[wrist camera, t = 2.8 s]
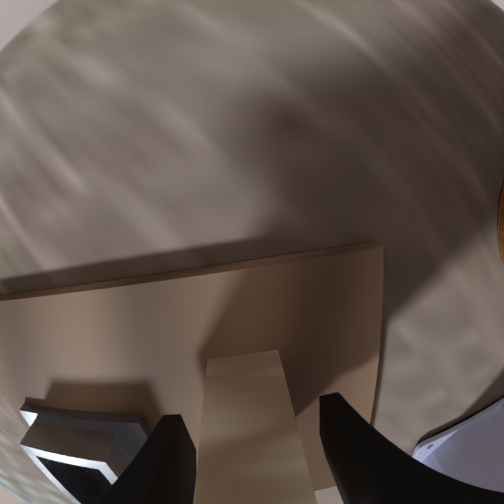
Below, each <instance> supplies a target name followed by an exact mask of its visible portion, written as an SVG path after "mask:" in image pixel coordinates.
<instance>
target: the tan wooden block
mask: <svg viewBox="0 0 504 504" xmlns="http://www.w3.org/2000/svg"><path fill="white" fill-rule="evenodd" d="M195 504H317V501H316V497H315V493H314V489H313V485H312V481H311V477H310V473H309V470H308V466H307V462H306V458H305V454H304V450H303V446H302V442H301V438H300V434H299V430H298V426H297V422H296V418H295V414H294V410H293V407H292V403H291V399H290V395H289V391H288V387H287V383H286V379H285V375H284V371H283V367H282V363H281V359H280V355H279V352H278V350H272V351H265V352H259V353H252V354H245V355H238V356H230V357H222V358H213V359H207V368H206V377H205V387H204V397H203V407H202V417H201V428H200V439H199V451H198V463H197V477H196V491H195Z"/></svg>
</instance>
